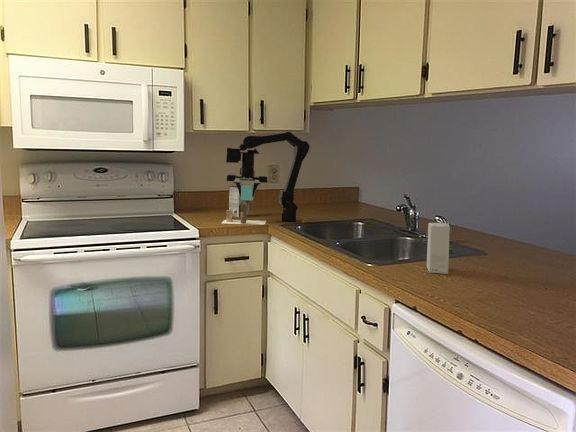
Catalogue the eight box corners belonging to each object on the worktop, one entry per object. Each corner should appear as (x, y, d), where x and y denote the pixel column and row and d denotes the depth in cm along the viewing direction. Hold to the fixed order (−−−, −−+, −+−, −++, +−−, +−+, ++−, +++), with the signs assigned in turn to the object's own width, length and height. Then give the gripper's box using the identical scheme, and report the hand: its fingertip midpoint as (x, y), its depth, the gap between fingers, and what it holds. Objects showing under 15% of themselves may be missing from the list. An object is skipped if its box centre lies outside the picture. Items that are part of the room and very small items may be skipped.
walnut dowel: (246, 224, 233) (246, 211, 232) (245, 225, 231) (245, 212, 230) (240, 224, 233) (241, 211, 232) (240, 225, 231) (240, 212, 230)
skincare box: (448, 274, 154) (451, 226, 152) (428, 273, 155) (431, 225, 153) (444, 267, 162) (447, 222, 160) (425, 266, 163) (428, 221, 161)
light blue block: (253, 199, 236) (253, 185, 235) (252, 200, 231) (252, 186, 230) (242, 198, 236) (242, 184, 235) (240, 200, 231) (241, 185, 230)
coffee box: (239, 215, 260) (239, 184, 258) (249, 216, 257) (249, 184, 254) (228, 217, 252) (228, 185, 250) (238, 218, 249) (239, 186, 247)
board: (266, 222, 239) (266, 220, 239) (264, 226, 230) (264, 224, 229) (224, 221, 240) (224, 219, 240) (221, 225, 230) (221, 223, 230)
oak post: (232, 222, 237) (232, 210, 236) (231, 223, 235) (231, 210, 234) (227, 222, 237) (227, 209, 236) (226, 223, 235) (226, 210, 234)
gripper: (269, 163, 239) (268, 196, 241) (230, 161, 239) (229, 194, 242) (267, 164, 228) (266, 198, 230) (226, 162, 228) (226, 196, 231)
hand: (247, 197), depth 234 cm, fingers closed on light blue block, 5 cm apart
